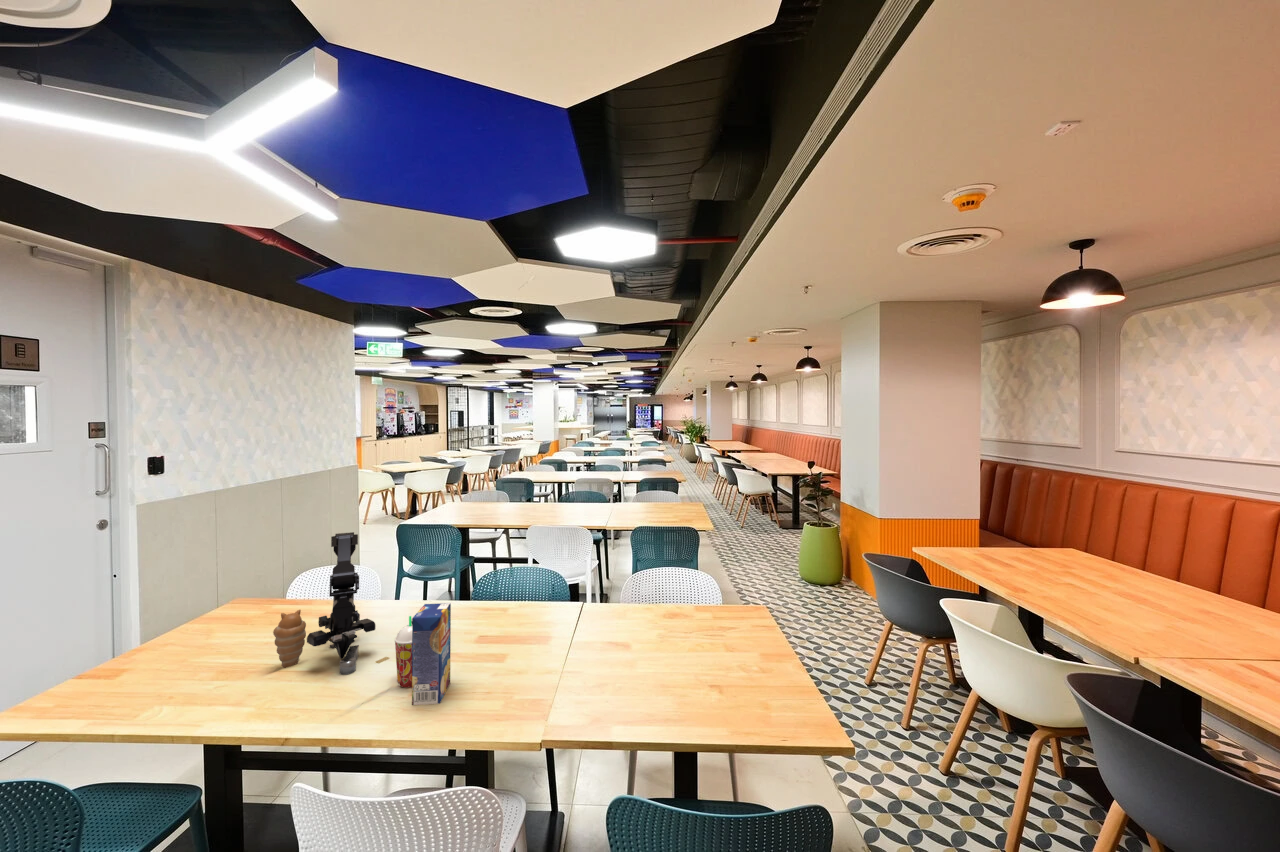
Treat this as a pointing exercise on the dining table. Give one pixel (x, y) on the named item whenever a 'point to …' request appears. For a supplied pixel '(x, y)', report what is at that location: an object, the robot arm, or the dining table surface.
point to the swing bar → (349, 661)
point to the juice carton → (431, 653)
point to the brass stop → (382, 660)
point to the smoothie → (404, 655)
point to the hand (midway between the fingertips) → (341, 658)
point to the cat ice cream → (290, 638)
